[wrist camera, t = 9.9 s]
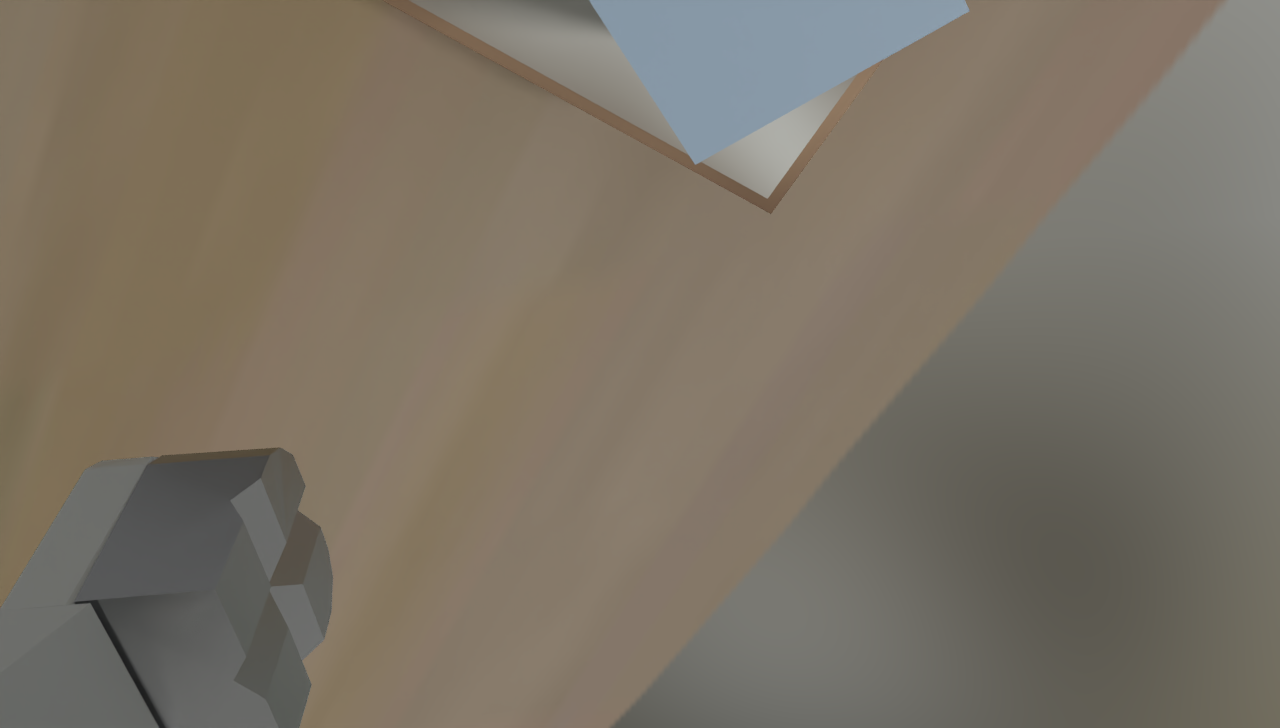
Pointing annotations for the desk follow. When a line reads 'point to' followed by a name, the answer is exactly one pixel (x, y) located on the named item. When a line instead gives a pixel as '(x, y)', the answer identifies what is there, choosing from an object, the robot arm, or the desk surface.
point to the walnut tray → (630, 87)
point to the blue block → (756, 55)
